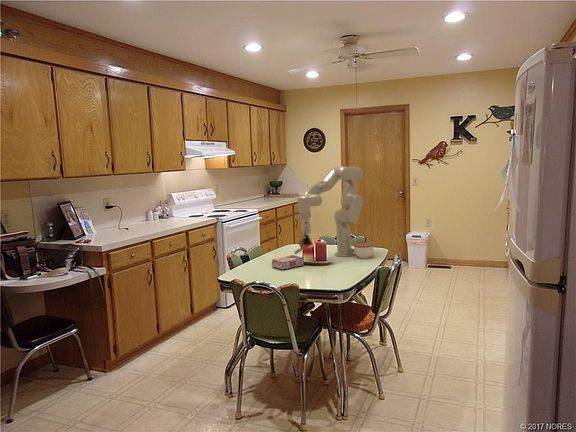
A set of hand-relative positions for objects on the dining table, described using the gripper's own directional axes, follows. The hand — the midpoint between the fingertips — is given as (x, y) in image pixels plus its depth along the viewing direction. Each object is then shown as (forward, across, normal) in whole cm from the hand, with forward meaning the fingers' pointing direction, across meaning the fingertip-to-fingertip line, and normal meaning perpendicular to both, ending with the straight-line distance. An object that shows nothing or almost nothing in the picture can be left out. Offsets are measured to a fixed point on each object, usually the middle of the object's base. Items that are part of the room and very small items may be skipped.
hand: (306, 243), depth 286 cm
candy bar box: (+9, -2, +6) cm, 11 cm away
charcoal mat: (+12, 0, +15) cm, 20 cm away
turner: (+3, 0, +2) cm, 4 cm away
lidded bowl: (+14, +6, -38) cm, 41 cm away
